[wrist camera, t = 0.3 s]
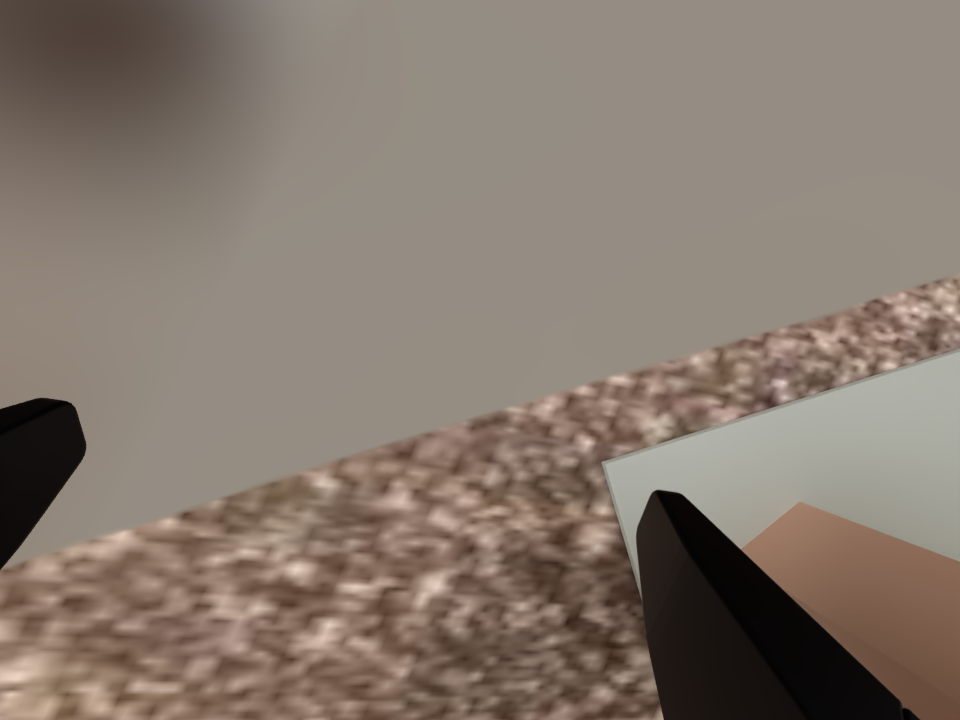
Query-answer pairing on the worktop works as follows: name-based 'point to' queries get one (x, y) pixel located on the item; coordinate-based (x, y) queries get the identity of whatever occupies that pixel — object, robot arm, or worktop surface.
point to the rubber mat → (818, 462)
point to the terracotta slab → (873, 601)
